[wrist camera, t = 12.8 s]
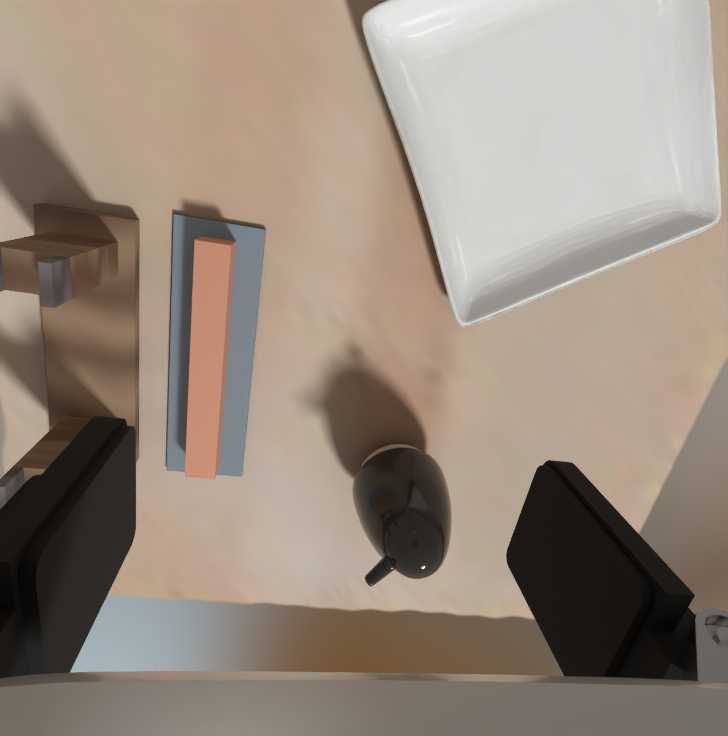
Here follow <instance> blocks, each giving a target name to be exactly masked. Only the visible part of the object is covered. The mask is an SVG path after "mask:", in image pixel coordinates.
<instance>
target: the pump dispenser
mask: <svg viewBox="0 0 728 736" xmlns="http://www.w3.org/2000/svg"><path fill="white" fill-rule="evenodd" d="M353 500H354V505H355V508H356V512H357V515H358V517H359V520H360V523H361V525H362V527H363V530H364V532H365V534H366V536H367V537H368V539H369V541H370V542H371V544H372V545H373V547H374V548H375V550H376V551H377V552H378V554H379V555H380V556H381V557H382V559H381V560H380V561H379V562H378V563H377V564H376V565H375V567H374V568H373V569H372V570H371V571H370V572H369V573H368V574H367V575H366V576H365V581H366V583H367V584H368V585H369V586H373V585H375V584H376V583H377V582H379V581H380V580H381V579H383V578H384V577H385V576H387V575H388V574H389V573H391V572H392V571H393V570H395V571H397V572H398V573H400V574H402V575H404V576H406V577H408V578H411V579H422V578H426V577H429V576H431V575H432V574H434V573H435V572H436V571H437V570H438V569H439V568H440V567H441V565H442V564H443V562H444V560H445V557H446V555H447V552H448V548H449V543H450V536H451V523H452V514H451V502H450V496H449V491H448V487H447V483H446V479H445V476H444V474H443V472H442V470H441V468H440V466H439V464H438V463H437V462H436V461H435V460H434V459H433V458H432V457H431V456H430V455H428V454H427V453H425V452H423V451H421V450H419V449H417V448H415V447H413V446H410V445H405V444H392V445H387V446H384V447H382V448H379V449H378V450H376V451H374V452H373V453H372V454H370V455H369V456H368V457H367V458H366V459H365V461H364V462H363V464H362V465H361V467H360V469H359V471H358V472H357V474H356V477H355V479H354V483H353Z"/></svg>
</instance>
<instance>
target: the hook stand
mask: <svg viewBox="0 0 728 736" xmlns="http://www.w3.org/2000/svg"><path fill="white" fill-rule="evenodd" d="M34 218H35V231H36V235H34V236H29V237H24V238H19V239H15V240H10V241H5V242H0V291H3V290H10V291H18V292H25V293H32V294H40V299H41V310H42V323H43V336H44V350H45V363H46V376H47V389H48V402H49V416H50V429H51V430H50V431H49V432H48V433H47V434H46V435H45V436H44V437H43V438H42V439H41V440H40V441H39V442H38V443H37V444H36V445H35V446H34V447H33V448H32V449H31V450H30V451H29V452H27V453H26V454H25V455H24V456H23V457H22V458H21V459H20V460H19V461H18V462H17V463H16V464H15V465H14V466H13V467H12V468H11V469H10V470H9V471H8V472H7V473H6V474H5V475H4V476H3V477H2V478H1V479H0V509H1V508H2V507H3V506H4V505H5V504H6V503H7V502H8V500H9V499H10V498H11V497H12V496H13V495H14V494H15V493H16V492H17V491H18V490H19V489H20V488H21V487H22V485H23V484H24V483H25V482H26V481H27V480H28V479H30V478H31V477H32V476H35V475H41V474H42V473H43V472H44V471H45V470H46V469H47V468H48V467H49V466H50V464H51V463H52V462H53V461H54V460H55V459H56V458H57V457H58V456H59V454H60V453H61V452H62V451H63V450H64V449H65V448H66V447H67V446H68V444H69V443H70V442H71V441H72V440H73V439H74V438H75V437H76V436H77V435H78V433H79V432H80V431H81V430H82V429H83V428H84V427H85V426H86V425H87V423H88V422H89V421H90V420H91V419H92V418H93V417H94V416H104V417H114V418H124V419H125V420H126V422H127V426H134V427H135V430H136V462H137V460H138V459H139V219H133V218H127V217H120V216H114V215H108V214H102V213H96V212H90V211H84V210H78V209H72V208H66V207H60V206H54V205H48V204H42V203H40V204H34Z"/></svg>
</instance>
